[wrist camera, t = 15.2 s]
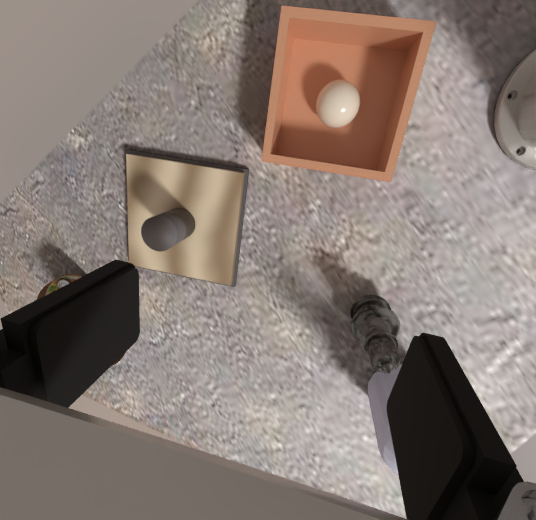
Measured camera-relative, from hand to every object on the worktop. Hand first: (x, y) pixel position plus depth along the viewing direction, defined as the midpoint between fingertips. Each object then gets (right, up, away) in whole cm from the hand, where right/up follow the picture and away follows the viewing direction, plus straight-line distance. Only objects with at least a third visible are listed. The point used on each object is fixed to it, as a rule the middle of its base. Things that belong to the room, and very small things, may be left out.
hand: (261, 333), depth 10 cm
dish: (+8, +19, +23) cm, 31 cm away
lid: (-11, +8, +30) cm, 33 cm away
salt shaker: (+14, -5, +31) cm, 34 cm away
